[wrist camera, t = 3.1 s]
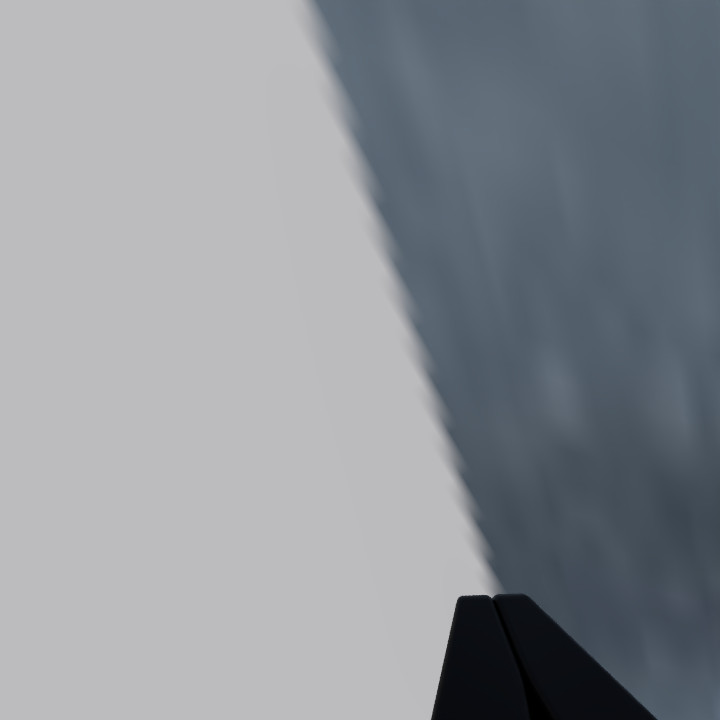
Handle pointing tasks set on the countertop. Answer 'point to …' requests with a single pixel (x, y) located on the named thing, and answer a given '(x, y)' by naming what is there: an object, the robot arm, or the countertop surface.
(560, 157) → the countertop surface
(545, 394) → the countertop surface
